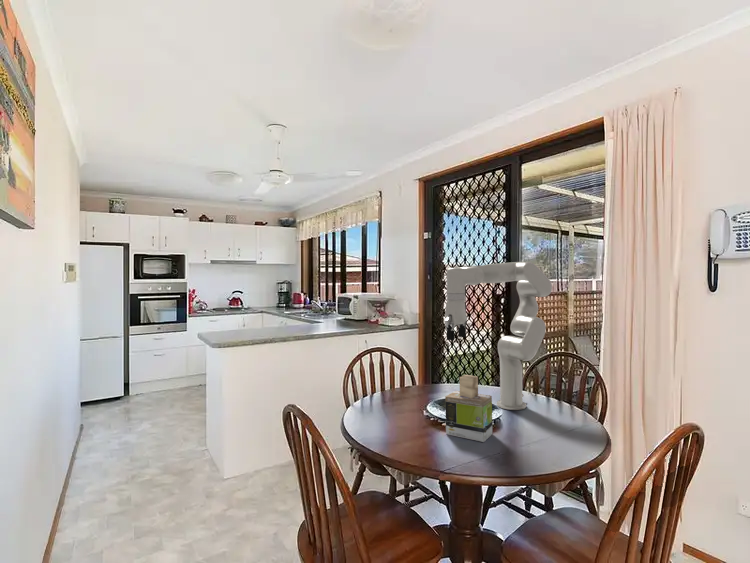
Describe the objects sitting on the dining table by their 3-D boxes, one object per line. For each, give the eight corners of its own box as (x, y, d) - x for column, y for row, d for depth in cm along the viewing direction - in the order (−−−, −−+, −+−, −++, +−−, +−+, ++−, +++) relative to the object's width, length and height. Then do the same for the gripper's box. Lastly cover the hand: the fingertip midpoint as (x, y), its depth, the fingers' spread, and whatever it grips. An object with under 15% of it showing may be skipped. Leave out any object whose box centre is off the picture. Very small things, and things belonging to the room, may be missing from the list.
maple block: (466, 392, 162) (465, 374, 162) (478, 395, 159) (477, 376, 159) (459, 395, 158) (459, 377, 158) (472, 398, 155) (471, 379, 155)
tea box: (493, 434, 159) (492, 395, 159) (483, 443, 151) (483, 402, 150) (455, 426, 167) (455, 389, 167) (444, 434, 159) (444, 395, 159)
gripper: (458, 296, 185) (458, 335, 185) (437, 298, 171) (437, 340, 172) (473, 296, 180) (474, 336, 180) (453, 299, 166) (454, 342, 167)
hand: (456, 338), depth 176 cm, fingers open, 9 cm apart
